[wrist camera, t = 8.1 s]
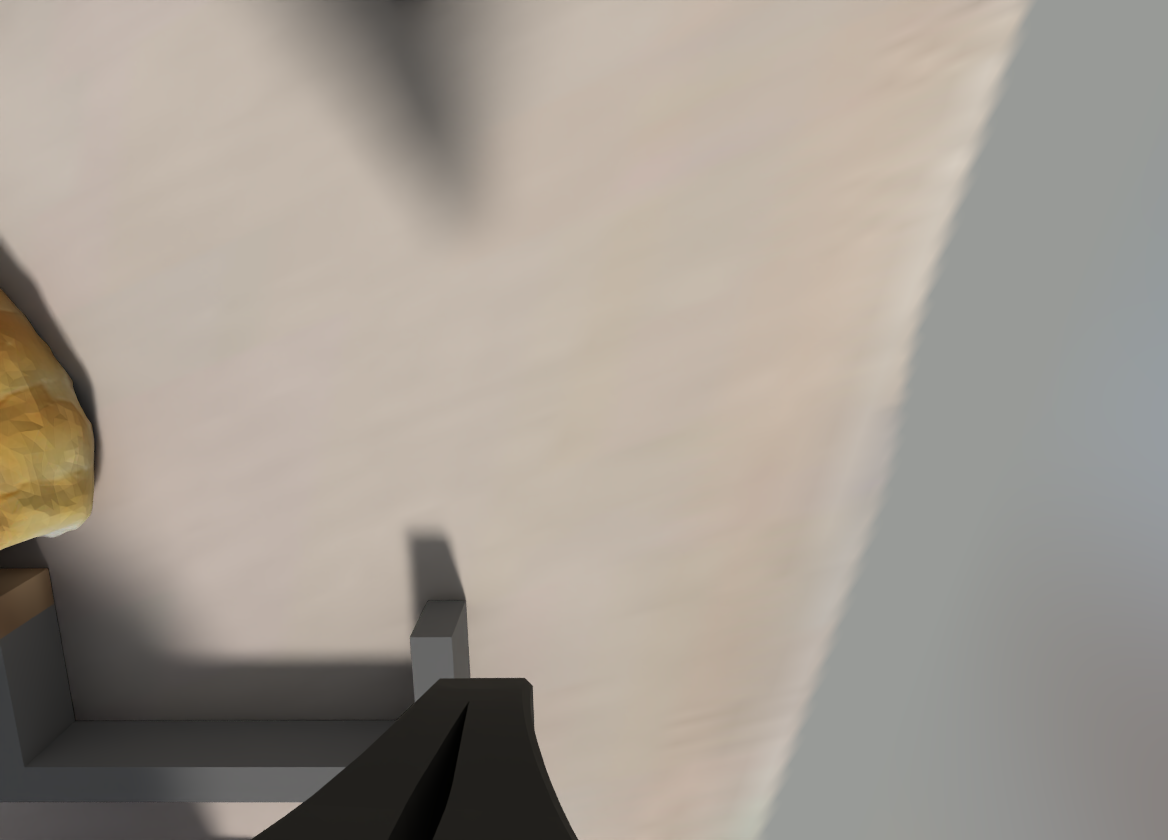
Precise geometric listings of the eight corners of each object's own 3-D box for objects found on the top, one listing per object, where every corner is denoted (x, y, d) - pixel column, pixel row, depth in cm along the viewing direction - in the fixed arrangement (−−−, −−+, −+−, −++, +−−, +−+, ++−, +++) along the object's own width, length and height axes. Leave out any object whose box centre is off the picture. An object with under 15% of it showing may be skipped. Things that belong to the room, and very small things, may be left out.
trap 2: (474, 752, 22) (461, 802, 20) (45, 753, 23) (-8, 802, 21) (465, 600, 21) (451, 636, 19) (17, 603, 22) (-41, 639, 20)
